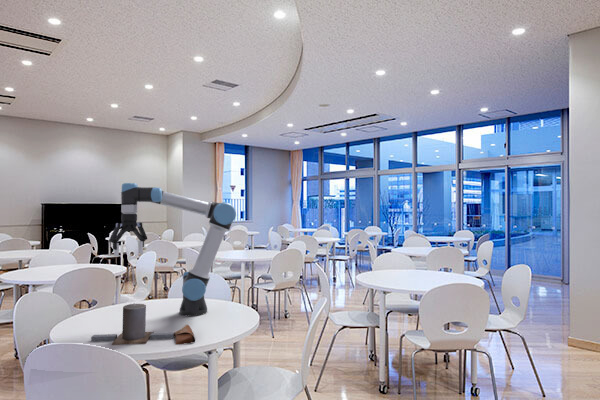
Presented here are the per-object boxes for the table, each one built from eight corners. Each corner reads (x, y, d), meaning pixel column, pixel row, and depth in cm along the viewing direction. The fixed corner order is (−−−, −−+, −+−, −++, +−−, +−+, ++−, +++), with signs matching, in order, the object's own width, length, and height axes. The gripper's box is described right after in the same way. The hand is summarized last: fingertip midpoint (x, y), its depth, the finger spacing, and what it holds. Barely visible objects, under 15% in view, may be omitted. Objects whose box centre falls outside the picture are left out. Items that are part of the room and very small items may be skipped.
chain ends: (174, 336, 184) (174, 332, 184) (173, 338, 181) (173, 334, 181) (93, 339, 180) (93, 334, 180) (91, 341, 177) (91, 337, 177)
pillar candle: (117, 338, 178) (117, 304, 178) (133, 332, 187) (133, 299, 187) (135, 341, 175) (135, 306, 175) (150, 334, 184) (150, 301, 184)
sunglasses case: (171, 332, 189) (179, 319, 191) (184, 339, 192) (192, 326, 193) (175, 345, 173) (183, 330, 174) (189, 351, 175) (197, 337, 176)
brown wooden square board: (153, 333, 188) (153, 331, 188) (145, 343, 174) (145, 341, 174) (122, 334, 187) (122, 332, 187) (111, 344, 173) (111, 342, 173)
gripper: (145, 213, 219) (145, 252, 218) (101, 213, 198) (101, 256, 197) (154, 213, 215) (154, 253, 214) (110, 213, 194) (110, 257, 193)
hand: (128, 255), depth 206 cm, fingers open, 13 cm apart
